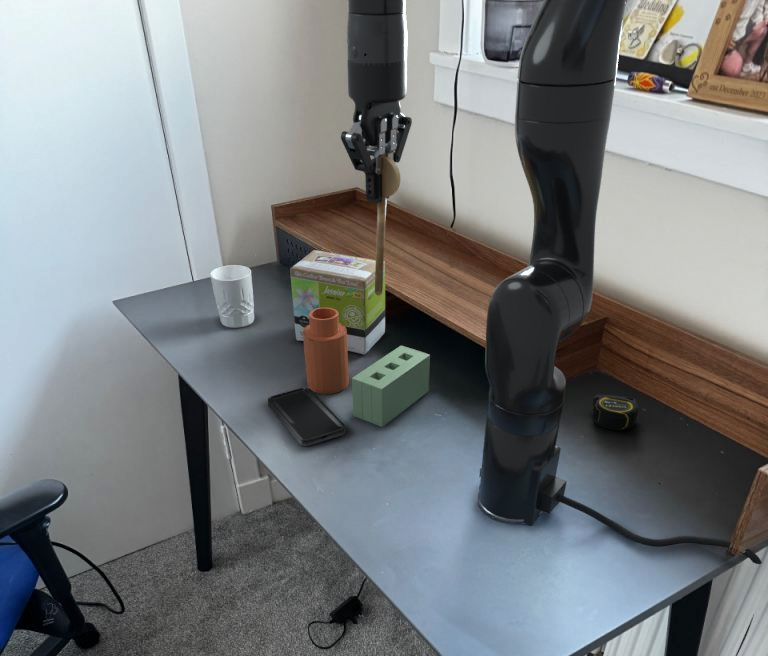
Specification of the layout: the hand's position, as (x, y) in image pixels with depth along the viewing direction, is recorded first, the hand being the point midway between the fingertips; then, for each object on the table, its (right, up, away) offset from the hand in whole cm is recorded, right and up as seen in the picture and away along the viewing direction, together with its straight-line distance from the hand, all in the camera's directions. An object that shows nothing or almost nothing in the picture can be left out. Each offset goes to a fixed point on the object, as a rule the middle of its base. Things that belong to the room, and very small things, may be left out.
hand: (378, 199), depth 101 cm
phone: (-12, -29, +16) cm, 35 cm away
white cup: (-29, -5, +45) cm, 54 cm away
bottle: (-9, -21, +25) cm, 34 cm away
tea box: (-8, -10, +39) cm, 41 cm away
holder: (+2, -26, +20) cm, 33 cm away
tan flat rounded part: (0, -11, +9) cm, 14 cm away
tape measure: (+37, -29, +15) cm, 50 cm away
